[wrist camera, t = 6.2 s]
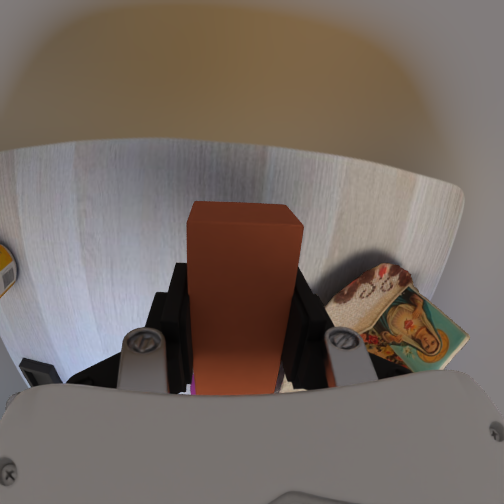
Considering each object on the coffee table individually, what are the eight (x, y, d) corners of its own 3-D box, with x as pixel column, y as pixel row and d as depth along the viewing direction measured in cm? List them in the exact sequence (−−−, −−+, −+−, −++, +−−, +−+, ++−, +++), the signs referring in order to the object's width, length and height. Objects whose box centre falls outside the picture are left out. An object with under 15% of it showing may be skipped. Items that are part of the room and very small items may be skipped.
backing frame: (23, 357, 31) (18, 365, 29) (53, 365, 32) (48, 374, 30) (47, 399, 35) (44, 407, 34) (76, 407, 36) (73, 415, 34)
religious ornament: (401, 229, 28) (487, 273, 17) (412, 337, 37) (462, 382, 26) (201, 355, 26) (232, 461, 15) (275, 429, 35) (308, 494, 24)
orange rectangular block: (193, 200, 10) (186, 221, 8) (286, 204, 11) (305, 225, 8) (197, 359, 13) (196, 397, 11) (266, 358, 14) (273, 396, 12)
